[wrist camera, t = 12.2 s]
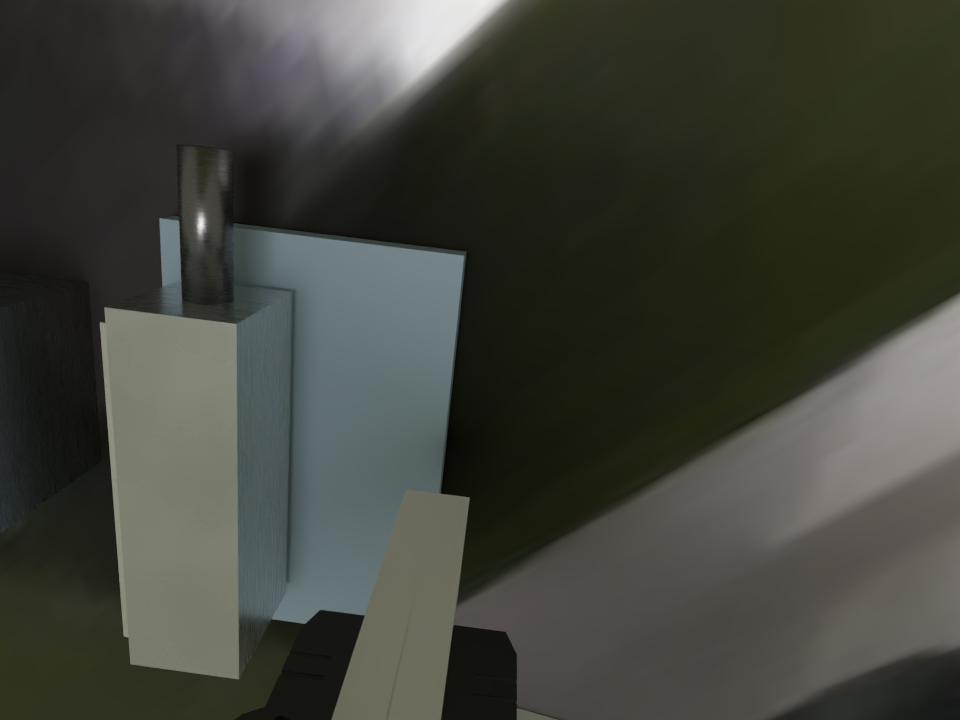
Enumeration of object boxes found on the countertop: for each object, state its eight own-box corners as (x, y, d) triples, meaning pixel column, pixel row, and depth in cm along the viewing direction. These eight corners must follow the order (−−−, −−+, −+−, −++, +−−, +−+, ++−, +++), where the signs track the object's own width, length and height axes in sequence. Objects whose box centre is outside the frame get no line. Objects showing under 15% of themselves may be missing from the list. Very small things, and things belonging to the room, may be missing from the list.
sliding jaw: (286, 592, 20) (238, 679, 17) (183, 578, 21) (116, 662, 17) (295, 155, 16) (234, 154, 13) (166, 140, 16) (72, 135, 13)
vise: (427, 623, 22) (402, 745, 17) (-199, 537, 23) (-382, 633, 18) (466, 251, 18) (448, 282, 13) (-296, 158, 18) (-564, 157, 14)
